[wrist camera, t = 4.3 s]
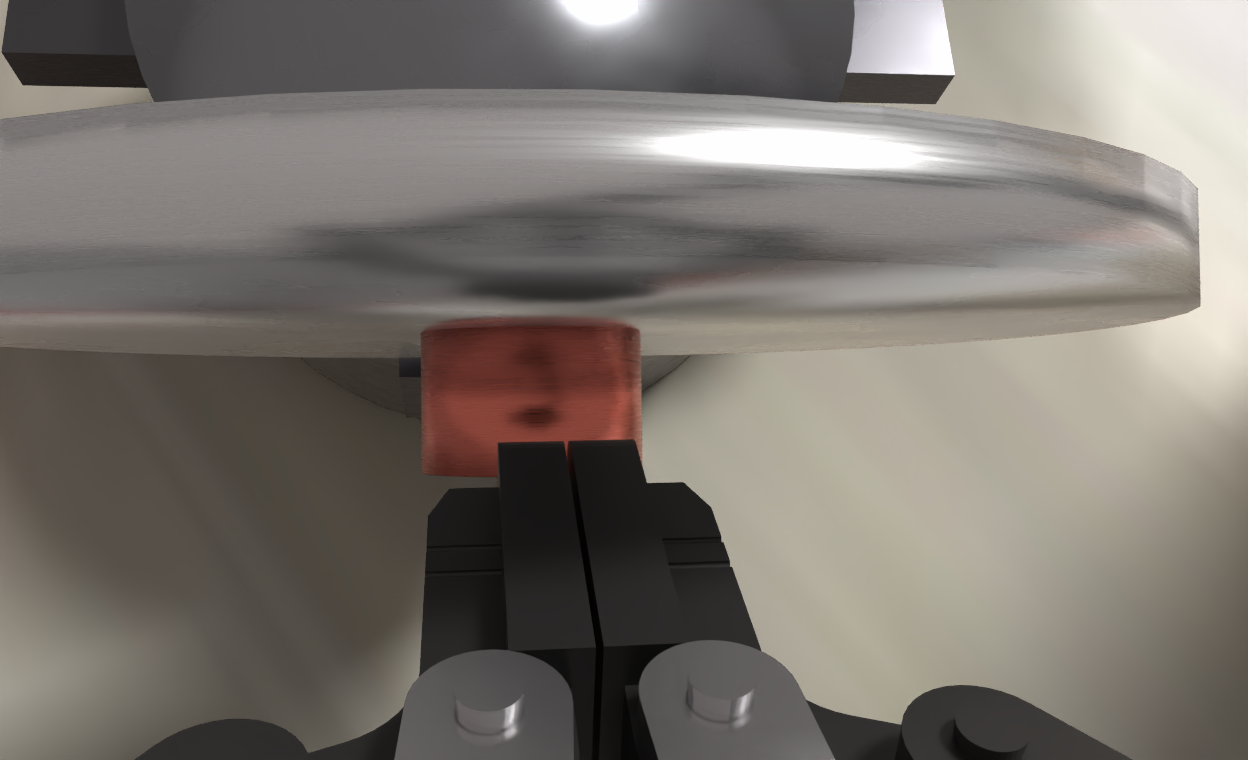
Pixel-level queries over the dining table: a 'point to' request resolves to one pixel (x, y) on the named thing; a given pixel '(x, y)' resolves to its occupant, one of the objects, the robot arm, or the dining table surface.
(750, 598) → the dining table surface
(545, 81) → the cooker pot
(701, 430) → the dining table surface
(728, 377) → the dining table surface
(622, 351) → the lid
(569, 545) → the robot arm
